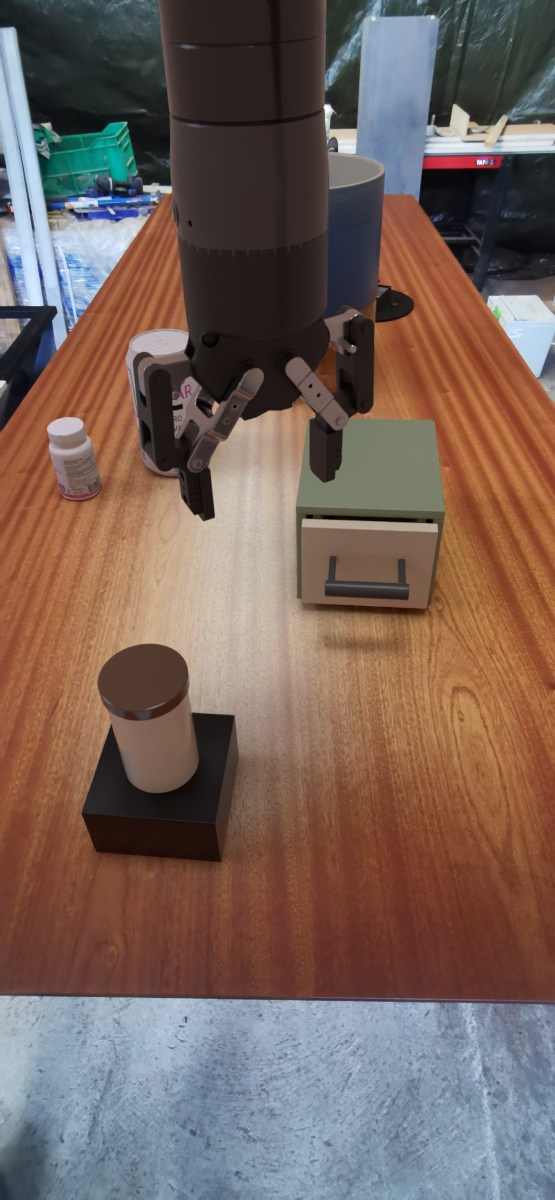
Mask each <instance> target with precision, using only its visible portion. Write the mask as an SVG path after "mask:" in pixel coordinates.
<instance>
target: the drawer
mask: <svg viewBox="0 0 555 1200" xmlns="http://www.w3.org/2000/svg"><path fill="white" fill-rule="evenodd" d="M301 536H302V598H301V603H303V604H320V605H321V604H322V605H340V606H341V605H342V606H364V607H385V608H386V607H387V608H405V609H406V608H407V609H425V610H426V609H428V604H427V603H428V597H429V590H430V583H431V577H432V570H433V563H434V557H435V550H436V543H437V537H438V525H437V524H429V523H426V519H419V518H392V517H364V516H337V515H313V519H302V527H301Z"/></svg>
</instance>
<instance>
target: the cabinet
mask: <svg viewBox="0 0 555 1200" xmlns="http://www.w3.org/2000/svg"><path fill="white" fill-rule="evenodd" d="M313 418H315V416H308V417H307V424H306V432H305V440H304V444H303V445H304V446H303V453H302V459H301V460H302V461H301V468H300V474H299V480H298V481H299V483H298V488H297V496H296V502H295V503H296V504H295V532H296V534H295V537H296V538H295V539H296V541H295V543H296V545H295V546H296V548H295V549H296V598H298V599H302V536H301V527H302V519H313V515H337V516H364V517H392V518H419V519H426V523H429V524H437V525H438V537H437V543H436V550H435V557H434V563H433V570H432V577H431V583H430V590H429V597H428V603H427V605H432V601H433V596H434V595H433V594H434V588H435V581H436V575H437V568H438V562H439V557H440V556H439V555H440V549H441V542H442V536H443V530H444V524H445V516H446V506H445V504H446V503H445V497H444V488H443V479H442V472H441V470H442V469H441V462H440V453H439V446H438V435H437V428H436V420H434V419H405V418H404V419H401V418H400V419H397V418H364V417H363V418H362V417H361V418H359V417H358V418H357V417H350V418H349V419H348V423H347V425H346V426H345V427H344V428H343V441H342V463H341V466H340V468H339V470H337V471H336V473H335V479H334V480H332V481H329V482H326V483H323V482H322V481H321V480H320V479H319V478H318V477H317V476H315V475H314V474H313V473H312V471H311V469H310V465H309V428H310V419H313Z"/></svg>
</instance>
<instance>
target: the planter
mask: <svg viewBox="0 0 555 1200" xmlns="http://www.w3.org/2000/svg"><path fill="white" fill-rule="evenodd" d="M328 156H329V225H328V277H327V307H326V310H325V313H324V315H323V317H324V319H328V318H331V317H334V316H335V313H336V311H337V310H338V308H339V307H341V306H343V305H348V306H350V307H351V308H353V309H355V310H357V311H359V310H360V311H359V312H360V313H362V314H364V315H365V316H366V317H368V318H369V319H371V320H372V321H373V322H374V330H375V329H376V328H375V327H376V322H375V313H376V299H375V298H376V296H377V292H378V284H379V283H378V279H379V272H380V259H381V243H382V230H383V229H382V227H383V212H384V211H383V210H384V197H385V182H386V181H385V180H386V167H385V165H384V164H382V163H381V162H379V161H378V160H376V159H374V158H371V157H368V156H364V155H359V154H353V153H346V152H338V151H328ZM329 348H330V347H328V349H327V351H328V350H329Z"/></svg>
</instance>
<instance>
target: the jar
mask: <svg viewBox="0 0 555 1200" xmlns="http://www.w3.org/2000/svg"><path fill="white" fill-rule="evenodd" d="M96 682H97V683H96V684H97V685H96V686H97V690H98V693H99V698H100V701H101V702H102V705H103V706H104V707H105V709H106V710H107V713H108V716H109V719H110V725H111V724H112V727H113V731H114V734H115V738H116V741H117V745H118V748H119V752H120V755H121V759H122V762H123V766H124V769H125V773H126V775H127V778H128V779H129V781H130V782H131V783H132V784H133V785H134V786H135V787H137V788H139V789H140V790H143V791H146V792H150V793H164V792H169V791H172V790H175V789H177V788H179V787H181V786H182V785H184V784H185V783H186V782H187V781H189V780H190V778H191V777H192V776H193V775H194V773H195V771H196V769H197V767H198V763H199V752H198V746H197V740H196V734H195V728H194V722H193V716H192V712H193V711H192V705H191V699H190V698H191V697H190V693H189V688H190V684H191V683H190V682H191V678H190V672H189V666H188V664H187V661H186V660H185V658H184V657H183V656H182V654H180V653H179V652H178V651H177V650H175V649H174V648H172V647H170V646H168V645H164V644H160V643H139V644H135V645H131V646H128V647H126V648H124V649H122V650H119V651H118V652H116V653H115V654H113V655H112V656H110V658H108V660H106V661H105V663H104V664H103V665H102V667H101V669H100V671H99V673H98V677H97V681H96Z"/></svg>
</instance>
